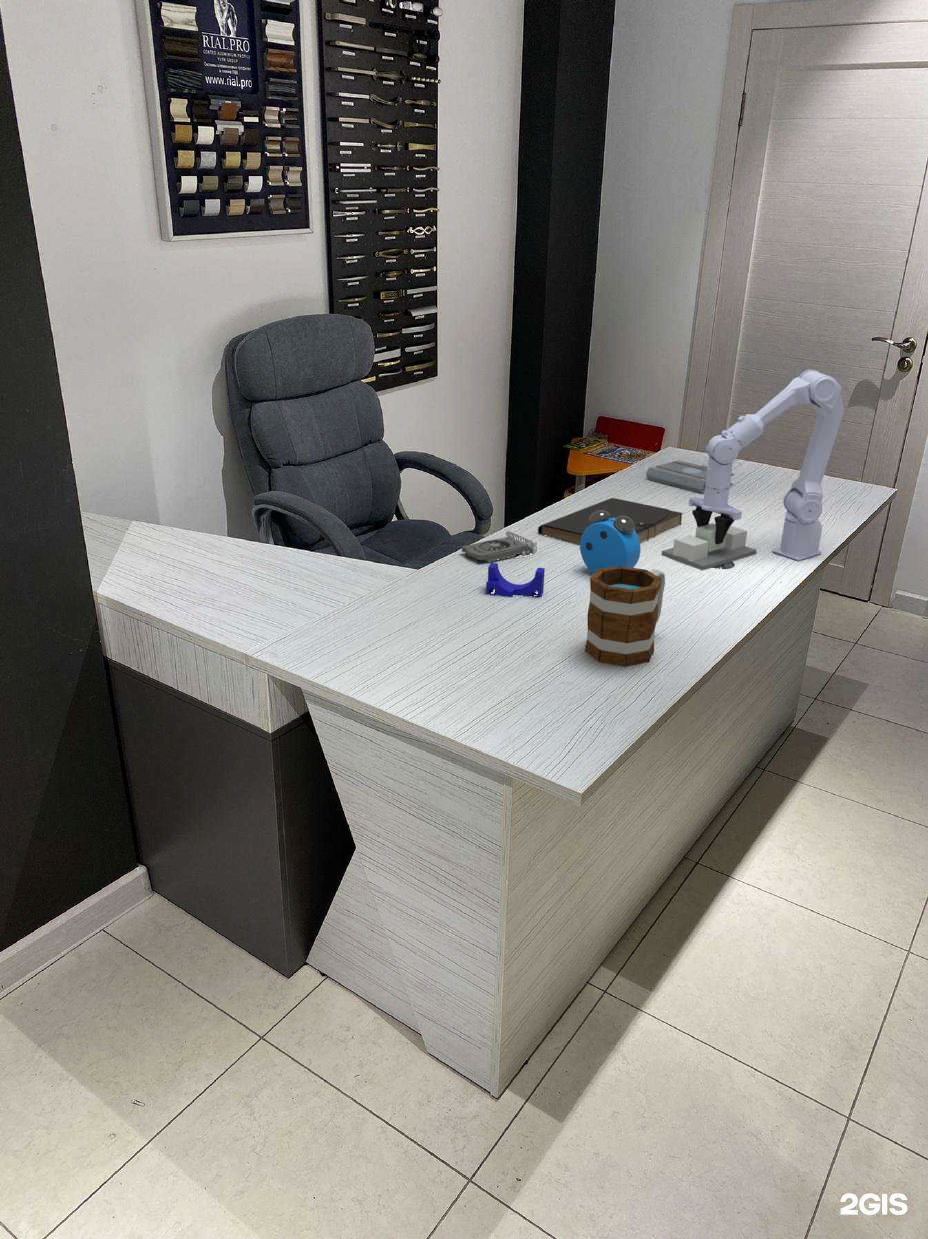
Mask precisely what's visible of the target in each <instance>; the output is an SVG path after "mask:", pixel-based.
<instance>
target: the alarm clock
mask: <svg viewBox="0 0 928 1239" xmlns="http://www.w3.org/2000/svg"><path fill="white" fill-rule="evenodd" d="M607 517H612V518H608V519H605V518H607ZM613 517H615V516H613V515H609V513H608V512H607V511H604V510H599V511H597V510H596V512H594V513H593V514H591V516H590V518H589V523H593V522H596V521H599V522H597V523H594V524H592V525H590V526H589V527H588V528H587V529H586V530H585V531H584V533H583V535H582V537H581V542H580V545H579V550H580V555H581V559H582V561H583V563H584V565H585V566H586V568H587V569H588V570H589V571H590V572H591V573H592V574H594V572H595V571H596V570H597V569H603V568H609V567H616V566H624V567H631V568H635V566H636V565H637V564H638V562H639V559H640V556H641V550H642V549H641V543H640V541H639V538H638V535H637V533H636V532H635V530H634V529H635V525H634V522H633V521H632V519H630V518H629V517H627V516H619V517H617V518H613ZM602 519H605V520H602ZM601 520H602V521H601Z"/></svg>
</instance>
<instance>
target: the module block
mask: <svg viewBox="0 0 928 1239" xmlns="http://www.w3.org/2000/svg"><path fill="white" fill-rule="evenodd" d="M695 529H696V530H695V536H694V537H696V538H699V539H702V540H705V541H708V542H709V545H708V552H710V551H714V550H717V549H720V548H724V547H725V540H726V536H725V538H724V541H723V543H721V544H715V536H716V524H715V523H713V522H711V523H709V524H708V525H704V526H700V527H697V526H696V528H695Z"/></svg>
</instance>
